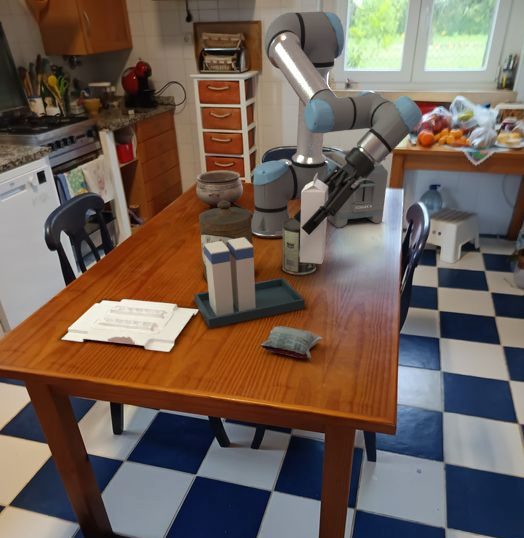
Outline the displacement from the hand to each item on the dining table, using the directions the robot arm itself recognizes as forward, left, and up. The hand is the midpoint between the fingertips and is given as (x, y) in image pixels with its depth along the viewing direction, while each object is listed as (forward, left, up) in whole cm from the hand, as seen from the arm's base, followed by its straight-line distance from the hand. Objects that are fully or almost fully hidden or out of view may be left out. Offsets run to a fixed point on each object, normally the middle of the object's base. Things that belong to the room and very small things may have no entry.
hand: (301, 225), depth 126 cm
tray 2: (+2, -47, -18) cm, 50 cm away
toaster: (-50, +42, -18) cm, 68 cm away
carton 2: (+4, -18, -17) cm, 25 cm away
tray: (+4, -17, -18) cm, 25 cm away
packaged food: (+28, -15, -18) cm, 36 cm away
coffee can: (-12, +5, -18) cm, 23 cm away
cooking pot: (-82, +1, -18) cm, 84 cm away
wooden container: (-16, -16, -18) cm, 29 cm away
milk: (+1, +3, -10) cm, 10 cm away
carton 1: (+4, -24, -17) cm, 30 cm away
